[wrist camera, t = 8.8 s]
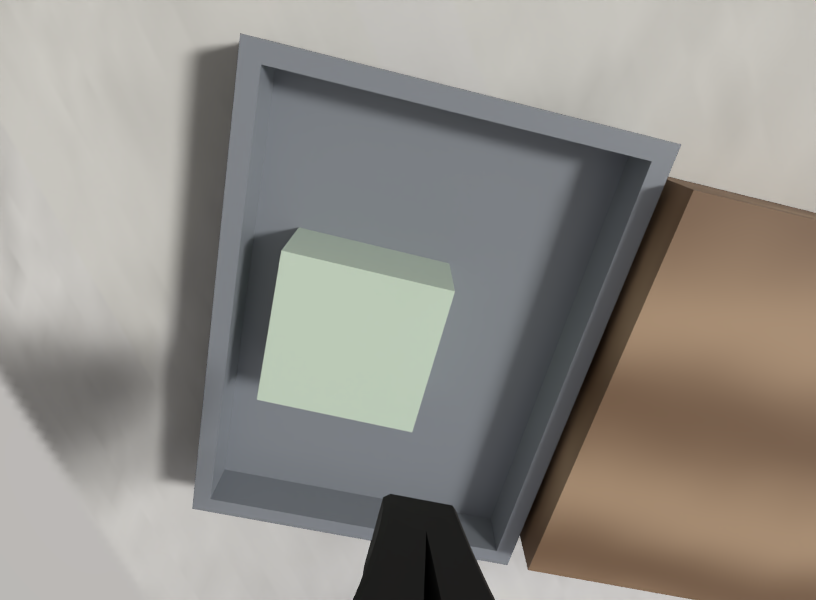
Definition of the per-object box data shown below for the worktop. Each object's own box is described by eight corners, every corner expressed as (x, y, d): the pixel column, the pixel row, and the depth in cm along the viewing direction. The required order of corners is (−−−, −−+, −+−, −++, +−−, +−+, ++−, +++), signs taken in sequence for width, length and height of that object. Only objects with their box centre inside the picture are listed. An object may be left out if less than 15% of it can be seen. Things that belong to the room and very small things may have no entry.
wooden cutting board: (823, 566, 23) (879, 632, 20) (513, 508, 22) (528, 569, 19) (1039, 268, 18) (1153, 302, 15) (647, 171, 17) (693, 190, 14)
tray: (499, 524, 22) (507, 564, 21) (211, 471, 21) (192, 508, 20) (650, 136, 16) (681, 144, 15) (260, 38, 15) (240, 33, 14)
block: (412, 390, 19) (412, 432, 17) (275, 360, 19) (257, 399, 17) (449, 263, 18) (454, 291, 15) (299, 227, 17) (281, 250, 15)
